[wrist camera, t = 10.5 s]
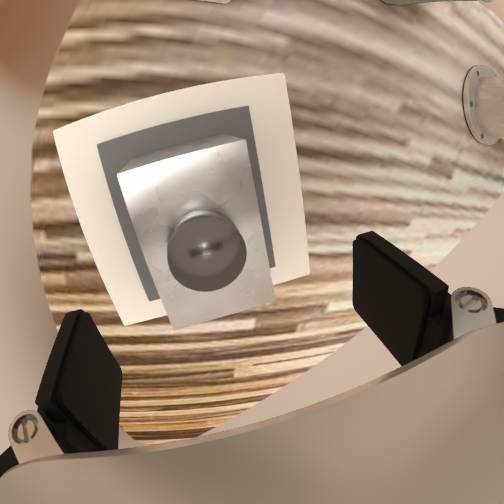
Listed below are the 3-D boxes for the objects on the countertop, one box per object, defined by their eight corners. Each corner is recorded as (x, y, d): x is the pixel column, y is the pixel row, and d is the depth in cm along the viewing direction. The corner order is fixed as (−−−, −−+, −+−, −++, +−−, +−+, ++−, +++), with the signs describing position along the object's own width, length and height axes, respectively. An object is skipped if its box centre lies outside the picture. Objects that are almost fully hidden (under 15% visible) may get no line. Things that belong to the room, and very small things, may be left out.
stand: (253, 83, 25) (287, 71, 18) (279, 238, 33) (313, 277, 25) (83, 126, 23) (49, 131, 15) (131, 278, 30) (123, 330, 23)
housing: (223, 133, 19) (253, 141, 12) (249, 255, 23) (283, 314, 16) (132, 157, 18) (111, 180, 11) (170, 278, 22) (175, 346, 15)
